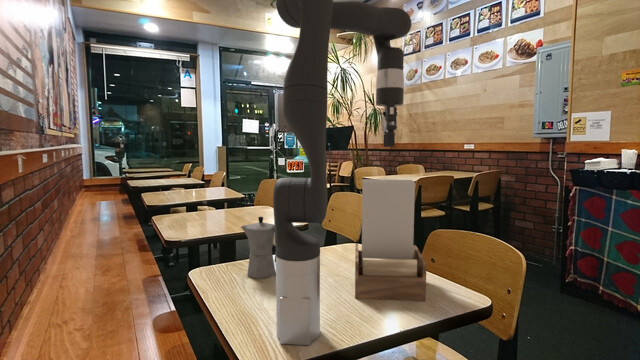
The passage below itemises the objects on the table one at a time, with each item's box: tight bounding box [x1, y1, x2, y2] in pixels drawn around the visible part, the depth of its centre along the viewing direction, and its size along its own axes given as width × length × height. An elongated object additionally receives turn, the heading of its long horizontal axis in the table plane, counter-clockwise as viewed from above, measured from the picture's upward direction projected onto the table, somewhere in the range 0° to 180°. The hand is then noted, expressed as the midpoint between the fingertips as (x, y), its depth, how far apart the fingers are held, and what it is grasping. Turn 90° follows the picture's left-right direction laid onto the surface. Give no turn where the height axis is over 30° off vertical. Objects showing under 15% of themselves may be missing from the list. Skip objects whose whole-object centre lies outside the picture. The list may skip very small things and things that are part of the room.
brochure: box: [361, 178, 416, 266], centre depth 103 cm, size 14×6×30 cm, turn 84°
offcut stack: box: [363, 258, 417, 277], centre depth 96 cm, size 4×14×10 cm, turn 84°
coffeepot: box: [240, 216, 276, 280], centre depth 110 cm, size 15×9×18 cm, turn 78°
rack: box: [354, 243, 428, 302], centre depth 100 cm, size 16×18×10 cm
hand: (388, 146), depth 100 cm, fingers open, 8 cm apart
